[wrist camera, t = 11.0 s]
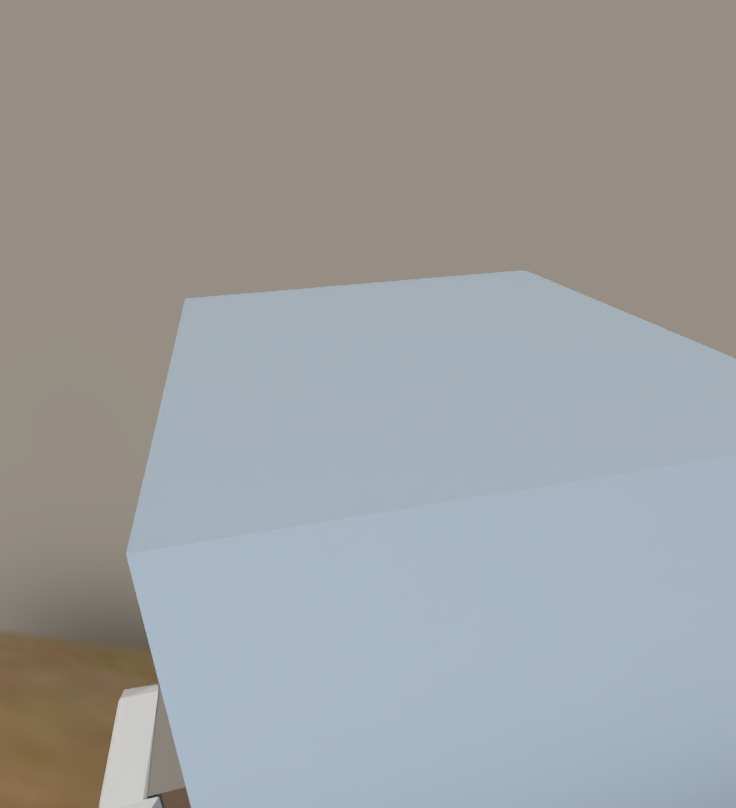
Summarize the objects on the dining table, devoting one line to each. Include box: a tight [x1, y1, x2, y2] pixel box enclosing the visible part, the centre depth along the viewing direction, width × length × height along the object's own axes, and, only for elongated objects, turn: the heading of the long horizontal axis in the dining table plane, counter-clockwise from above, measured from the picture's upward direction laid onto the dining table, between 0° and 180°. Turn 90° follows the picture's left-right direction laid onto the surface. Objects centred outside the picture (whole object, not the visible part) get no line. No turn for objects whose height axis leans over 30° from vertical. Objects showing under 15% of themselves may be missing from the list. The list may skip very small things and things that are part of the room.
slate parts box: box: [126, 270, 736, 808], centre depth 9 cm, size 5×6×14 cm
